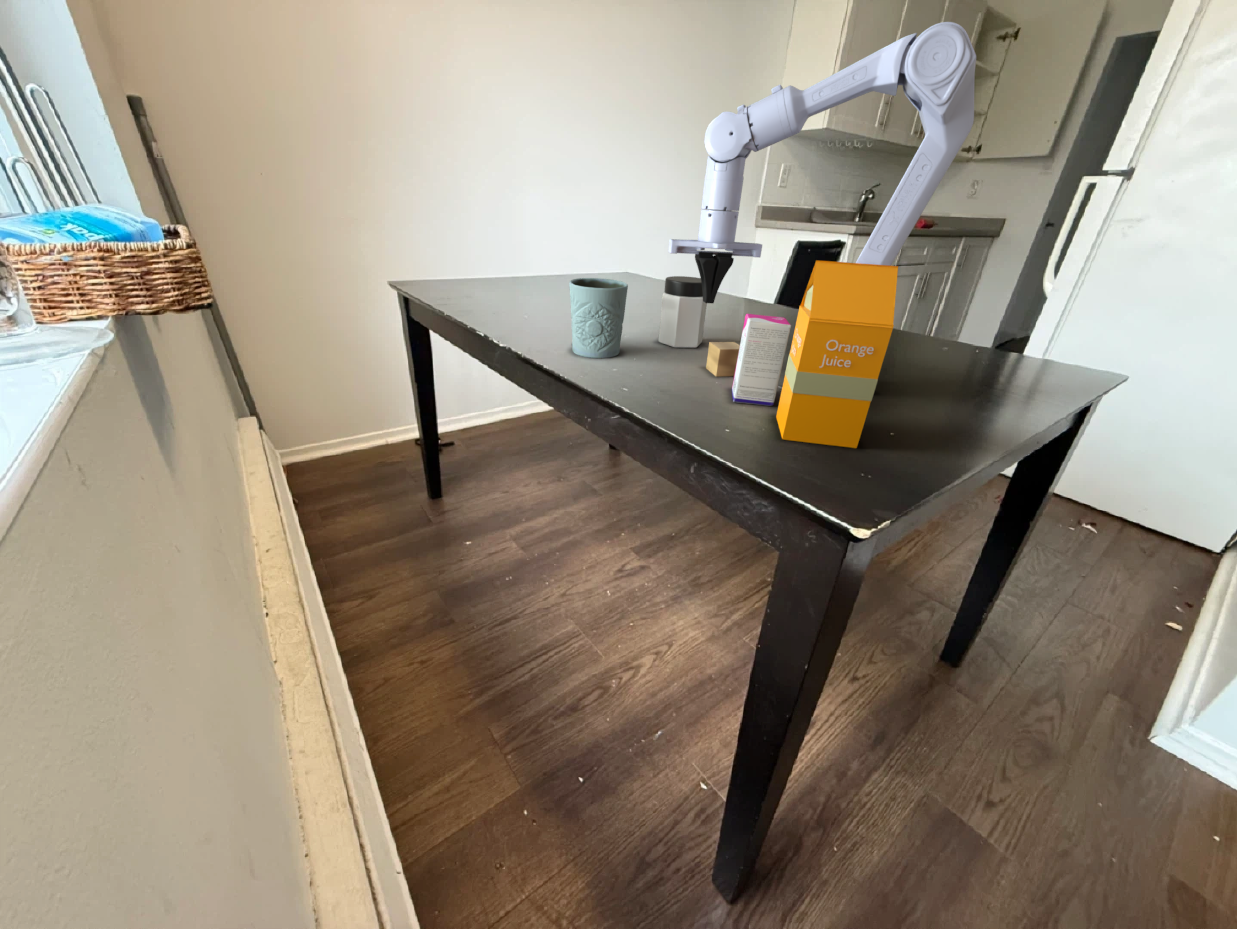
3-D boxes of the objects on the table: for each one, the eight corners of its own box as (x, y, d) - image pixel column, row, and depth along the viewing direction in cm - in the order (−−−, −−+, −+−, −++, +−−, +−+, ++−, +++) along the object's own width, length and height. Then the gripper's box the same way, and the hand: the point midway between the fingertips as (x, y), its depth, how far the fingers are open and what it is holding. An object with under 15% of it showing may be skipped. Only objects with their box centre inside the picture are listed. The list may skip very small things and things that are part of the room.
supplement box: (775, 406, 71) (792, 324, 66) (732, 402, 72) (746, 320, 67) (770, 393, 76) (786, 316, 71) (730, 389, 77) (743, 312, 72)
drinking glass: (599, 341, 98) (601, 276, 93) (636, 354, 92) (640, 285, 86) (557, 349, 92) (557, 280, 86) (593, 363, 86) (595, 289, 80)
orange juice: (857, 448, 60) (911, 270, 51) (781, 439, 61) (820, 264, 52) (843, 423, 67) (888, 262, 58) (775, 416, 68) (809, 256, 59)
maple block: (730, 367, 87) (734, 341, 85) (741, 376, 83) (746, 349, 81) (705, 368, 86) (709, 342, 84) (715, 376, 82) (719, 349, 80)
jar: (695, 337, 105) (703, 276, 100) (708, 348, 98) (716, 283, 92) (653, 337, 104) (658, 275, 98) (663, 348, 97) (669, 282, 91)
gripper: (678, 208, 73) (669, 305, 79) (775, 214, 75) (758, 308, 81) (669, 207, 79) (662, 297, 86) (759, 212, 81) (745, 300, 87)
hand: (708, 302), depth 84 cm, fingers closed
